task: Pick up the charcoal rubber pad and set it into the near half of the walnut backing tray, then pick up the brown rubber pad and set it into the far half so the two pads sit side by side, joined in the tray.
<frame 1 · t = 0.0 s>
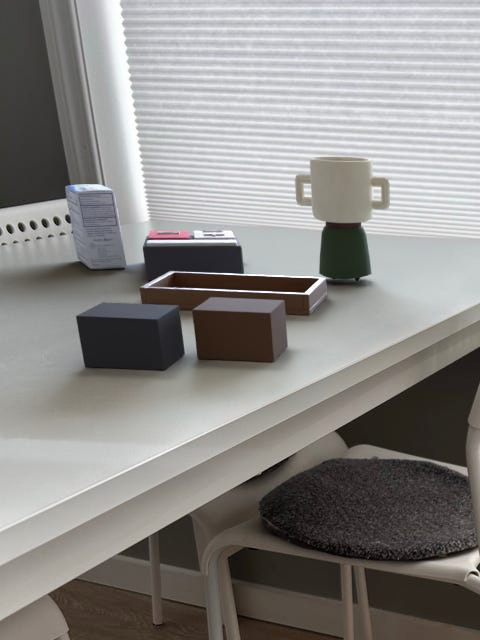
pad b: (243, 352, 82), on the table
backing tray: (238, 302, 100), on the table
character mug: (345, 282, 113), on the table
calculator: (195, 271, 116), on the table
pad a: (136, 360, 79), on the table
medicine box: (101, 266, 117), on the table
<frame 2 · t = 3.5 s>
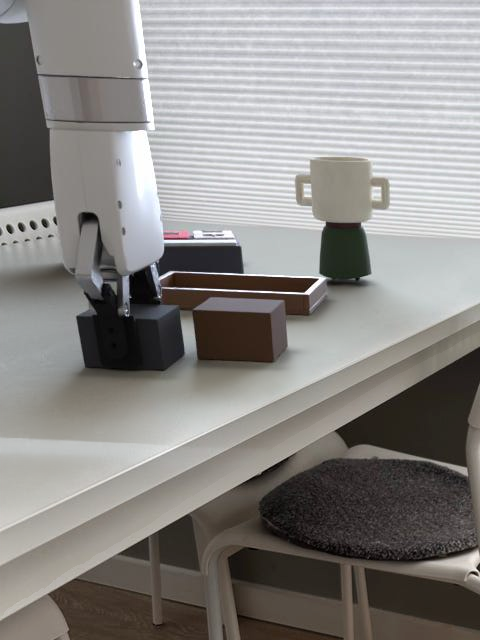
hand: (135, 354, 79), 1 cm above the table, tool pointing down, fingers closed on pad a, 5 cm apart
pad a: (136, 360, 79), on the table, touching gripper
everything else where it was.
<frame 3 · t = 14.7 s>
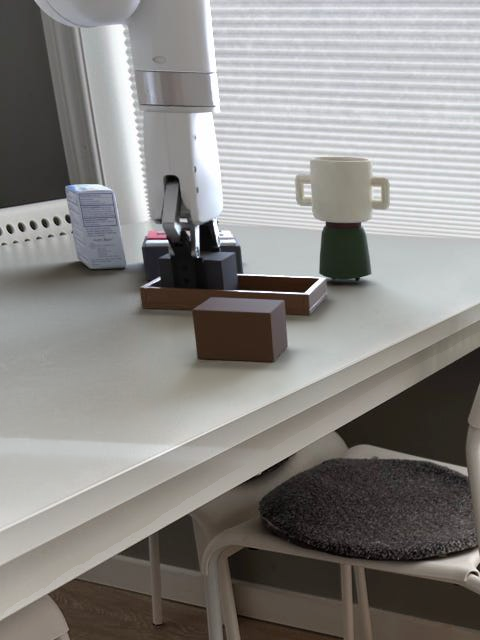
hand: (200, 290, 100), 1 cm above the table, tool pointing down, fingers closed on pad a, 5 cm apart
pad a: (201, 295, 100), point 1 cm above the table, touching gripper
everything else where it was.
when the fingers open (2 cm above the table, at t = 19.4 s): pad a drops 1 cm, resting on backing tray.
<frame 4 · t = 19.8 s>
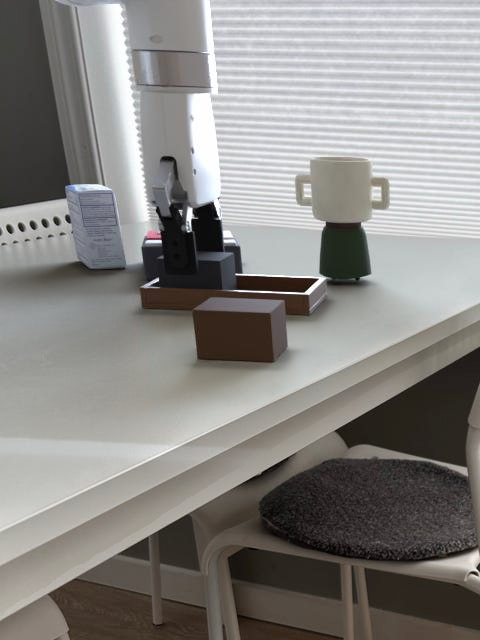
hand: (196, 266, 99), 3 cm above the table, tool pointing down, fingers open, 9 cm apart
pad a: (200, 295, 100), resting on backing tray
everything else where it was.
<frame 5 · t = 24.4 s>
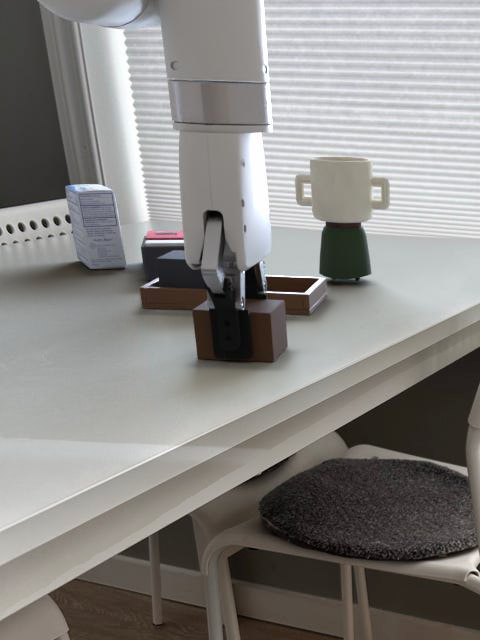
hand: (243, 346, 82), 1 cm above the table, tool pointing down, fingers closed on pad b, 5 cm apart
pad b: (244, 352, 82), on the table, touching gripper
everything else where it was.
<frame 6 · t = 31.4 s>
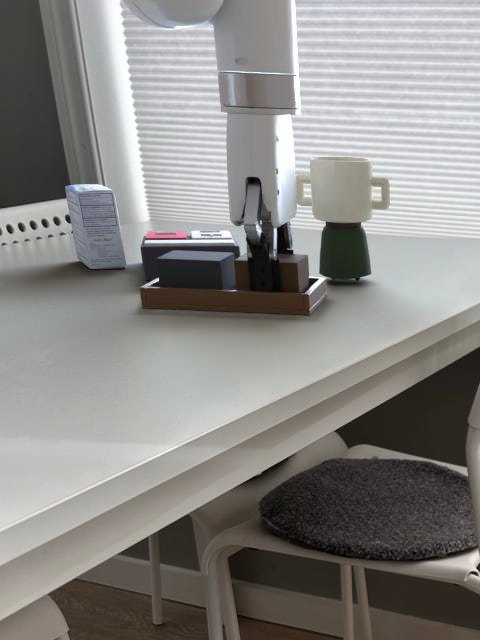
hand: (273, 292, 100), 1 cm above the table, tool pointing down, fingers closed on pad b, 5 cm apart
pad b: (274, 297, 100), point 1 cm above the table, touching gripper
everything else where it was.
when the fingers open (1 cm above the table, at t = 33.5 s): pad b stays where it is, resting on backing tray.
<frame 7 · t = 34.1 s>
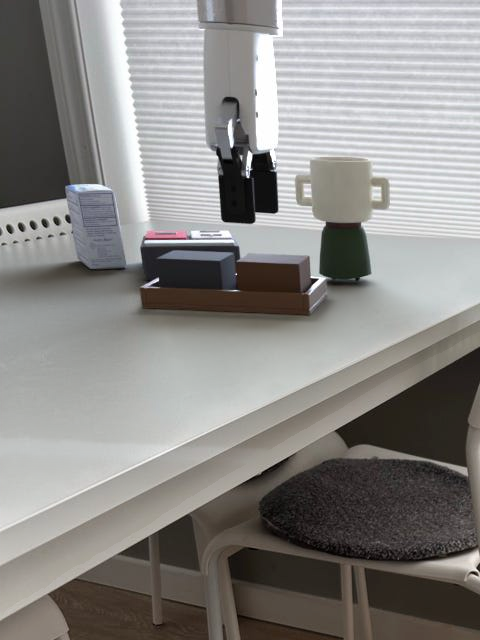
hand: (251, 217, 95), 8 cm above the table, tool pointing down, fingers open, 9 cm apart
pad b: (276, 298, 100), resting on backing tray
everything else where it was.
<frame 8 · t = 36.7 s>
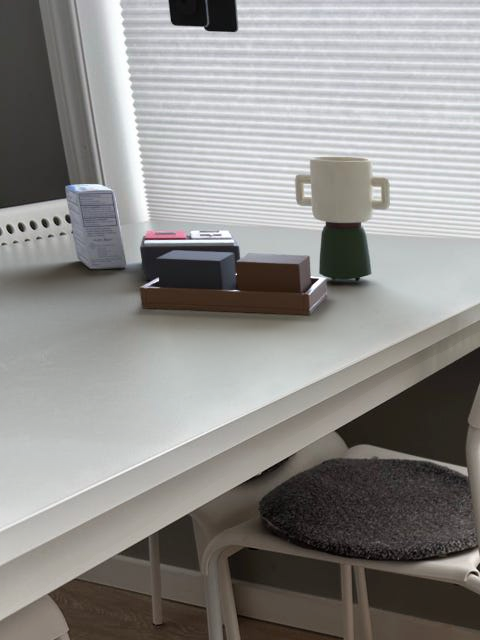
hand: (206, 28, 86), 24 cm above the table, tool pointing down, fingers open, 9 cm apart
nothing on the table moved.
at the end: pad a inside the target area in the backing tray (4.0 cm from its centre), point 0.5 cm above the backing tray's base; pad b inside the target area in the backing tray (4.1 cm from its centre), point 0.5 cm above the backing tray's base; pad b 8.1 cm from the pad a (horizontally) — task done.
